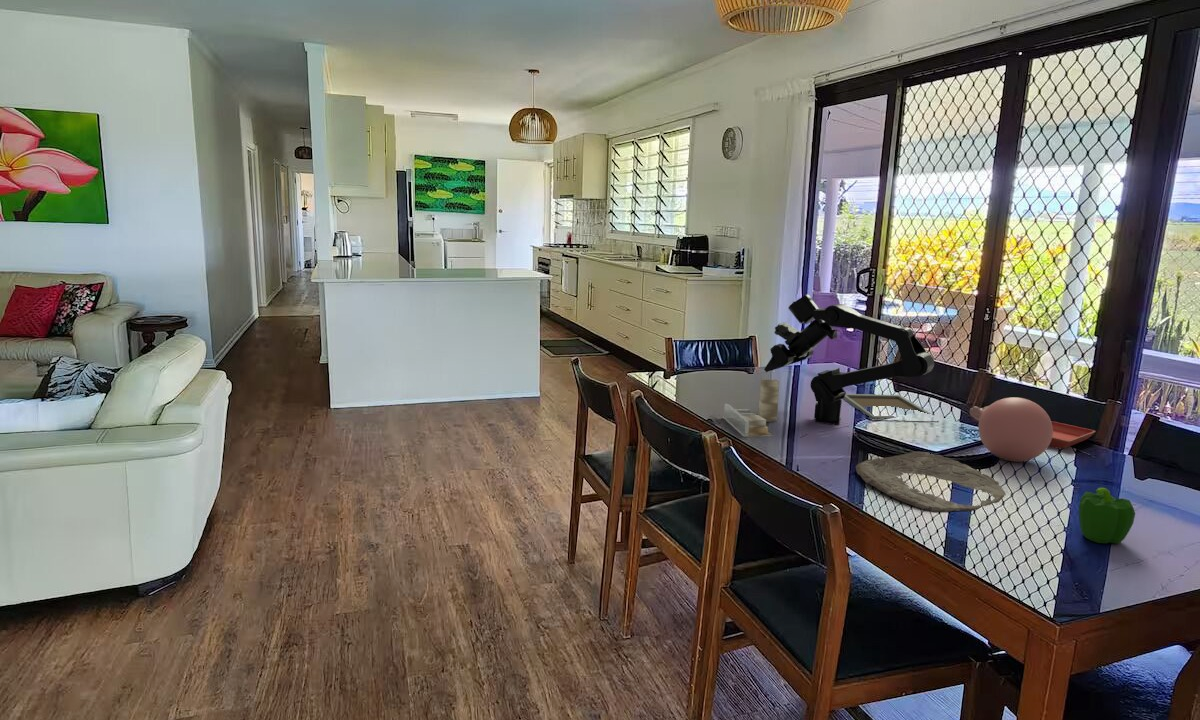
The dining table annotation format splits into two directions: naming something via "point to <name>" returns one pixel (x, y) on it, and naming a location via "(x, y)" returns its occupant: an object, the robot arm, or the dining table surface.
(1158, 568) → the dining table surface
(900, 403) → the picture frame
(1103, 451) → the dining table surface
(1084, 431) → the plant saucer
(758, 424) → the offcut pile
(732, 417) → the offcut rack
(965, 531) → the dining table surface
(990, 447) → the balloon
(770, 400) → the beige wooden block
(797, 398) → the dining table surface
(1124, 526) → the bell pepper
